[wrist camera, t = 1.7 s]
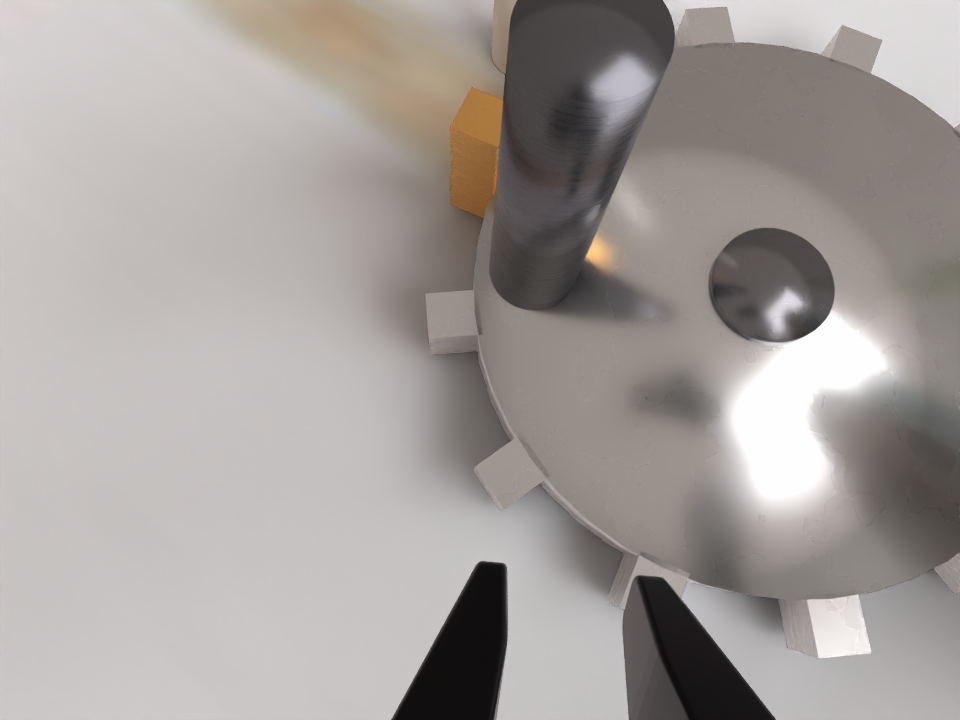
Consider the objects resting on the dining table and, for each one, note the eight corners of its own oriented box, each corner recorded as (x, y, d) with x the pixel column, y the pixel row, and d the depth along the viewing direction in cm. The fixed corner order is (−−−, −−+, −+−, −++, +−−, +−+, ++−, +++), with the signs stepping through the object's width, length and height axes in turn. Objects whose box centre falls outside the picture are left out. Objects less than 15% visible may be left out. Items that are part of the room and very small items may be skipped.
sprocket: (973, 777, 21) (1759, 1149, 8) (314, 461, 23) (129, 367, 10) (1113, 176, 26) (1704, -153, 14) (575, -33, 28) (662, -484, 16)
